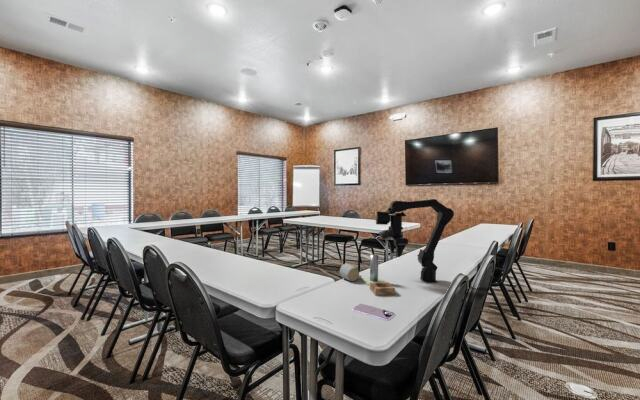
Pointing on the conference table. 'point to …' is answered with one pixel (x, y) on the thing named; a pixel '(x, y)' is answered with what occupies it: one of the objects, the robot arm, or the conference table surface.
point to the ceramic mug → (349, 272)
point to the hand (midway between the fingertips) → (395, 254)
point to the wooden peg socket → (382, 288)
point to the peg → (373, 267)
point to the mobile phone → (374, 312)
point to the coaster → (367, 281)
